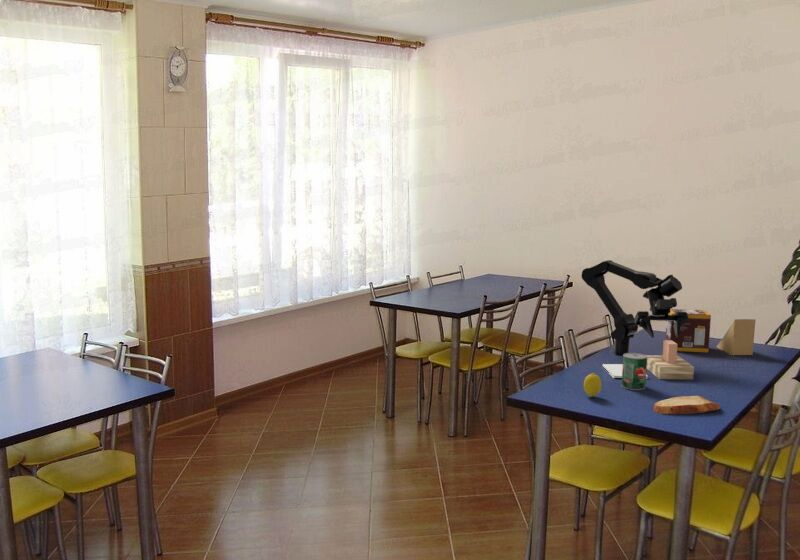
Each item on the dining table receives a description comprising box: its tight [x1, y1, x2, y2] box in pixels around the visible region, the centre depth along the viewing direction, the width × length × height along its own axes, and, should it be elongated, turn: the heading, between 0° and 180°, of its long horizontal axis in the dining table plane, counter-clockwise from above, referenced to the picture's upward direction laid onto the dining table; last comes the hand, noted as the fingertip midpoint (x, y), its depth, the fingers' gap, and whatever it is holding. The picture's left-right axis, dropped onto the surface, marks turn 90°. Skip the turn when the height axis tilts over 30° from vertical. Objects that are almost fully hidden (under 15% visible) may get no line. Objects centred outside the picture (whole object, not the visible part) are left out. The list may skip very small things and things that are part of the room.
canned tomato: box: [621, 352, 648, 391], centre depth 265 cm, size 8×8×11 cm
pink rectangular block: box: [662, 340, 678, 363], centre depth 283 cm, size 6×3×10 cm, turn 0°
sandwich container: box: [716, 318, 756, 357], centre depth 317 cm, size 9×15×15 cm, turn 1°
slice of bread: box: [652, 395, 721, 415], centre depth 242 cm, size 18×18×4 cm
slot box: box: [645, 354, 695, 380], centre depth 283 cm, size 16×12×4 cm
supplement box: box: [664, 308, 712, 353], centre depth 320 cm, size 10×15×16 cm
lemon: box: [583, 372, 602, 398], centre depth 254 cm, size 6×6×8 cm
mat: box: [601, 363, 649, 380], centre depth 284 cm, size 16×12×1 cm
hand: (665, 337), depth 288 cm, fingers open, 9 cm apart
